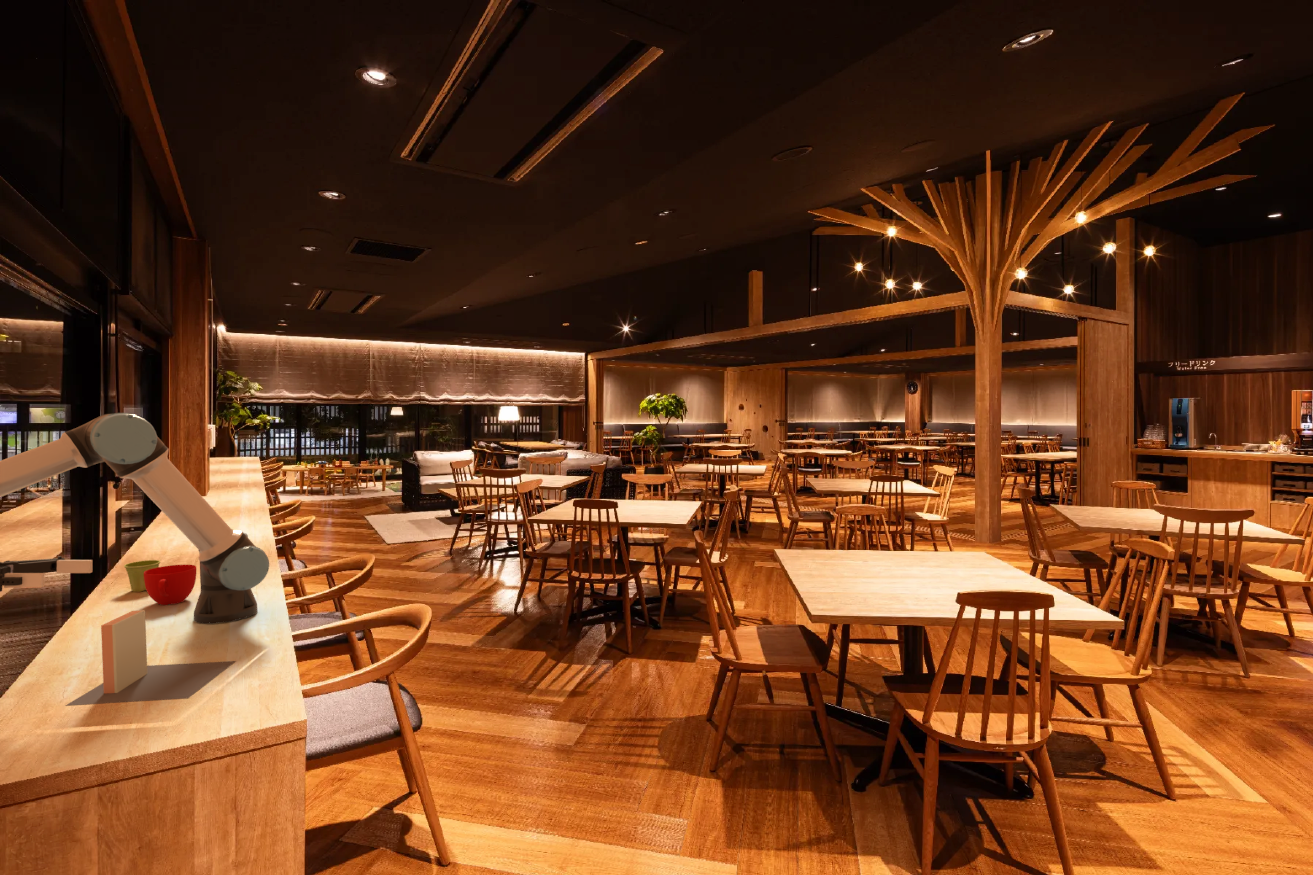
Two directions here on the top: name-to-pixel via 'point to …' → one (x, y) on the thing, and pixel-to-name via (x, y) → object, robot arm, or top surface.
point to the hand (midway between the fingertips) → (68, 573)
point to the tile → (124, 651)
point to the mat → (159, 684)
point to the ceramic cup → (170, 583)
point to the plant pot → (139, 573)
